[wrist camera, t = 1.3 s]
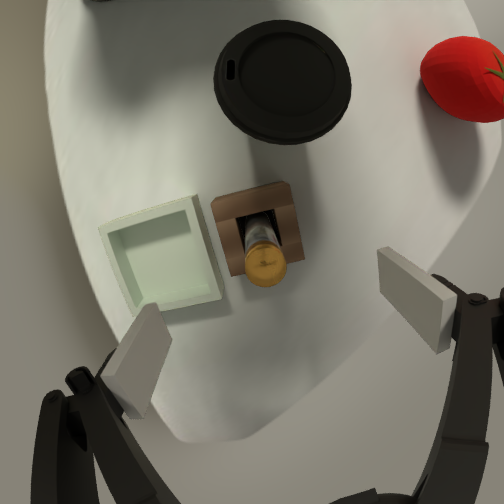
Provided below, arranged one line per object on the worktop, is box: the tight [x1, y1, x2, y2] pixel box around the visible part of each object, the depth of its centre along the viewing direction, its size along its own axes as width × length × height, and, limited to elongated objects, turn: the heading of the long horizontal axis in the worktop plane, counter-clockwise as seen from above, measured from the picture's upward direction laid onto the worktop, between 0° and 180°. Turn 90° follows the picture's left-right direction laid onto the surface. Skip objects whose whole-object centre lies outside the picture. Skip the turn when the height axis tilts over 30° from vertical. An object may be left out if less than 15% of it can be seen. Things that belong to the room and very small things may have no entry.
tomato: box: [420, 36, 504, 123], centre depth 21 cm, size 13×11×14 cm
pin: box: [245, 211, 286, 287], centre depth 26 cm, size 3×3×15 cm
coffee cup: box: [213, 20, 352, 145], centre depth 22 cm, size 10×10×15 cm
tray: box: [98, 194, 224, 317], centre depth 33 cm, size 12×12×4 cm
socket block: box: [211, 181, 305, 277], centre depth 31 cm, size 8×8×5 cm
